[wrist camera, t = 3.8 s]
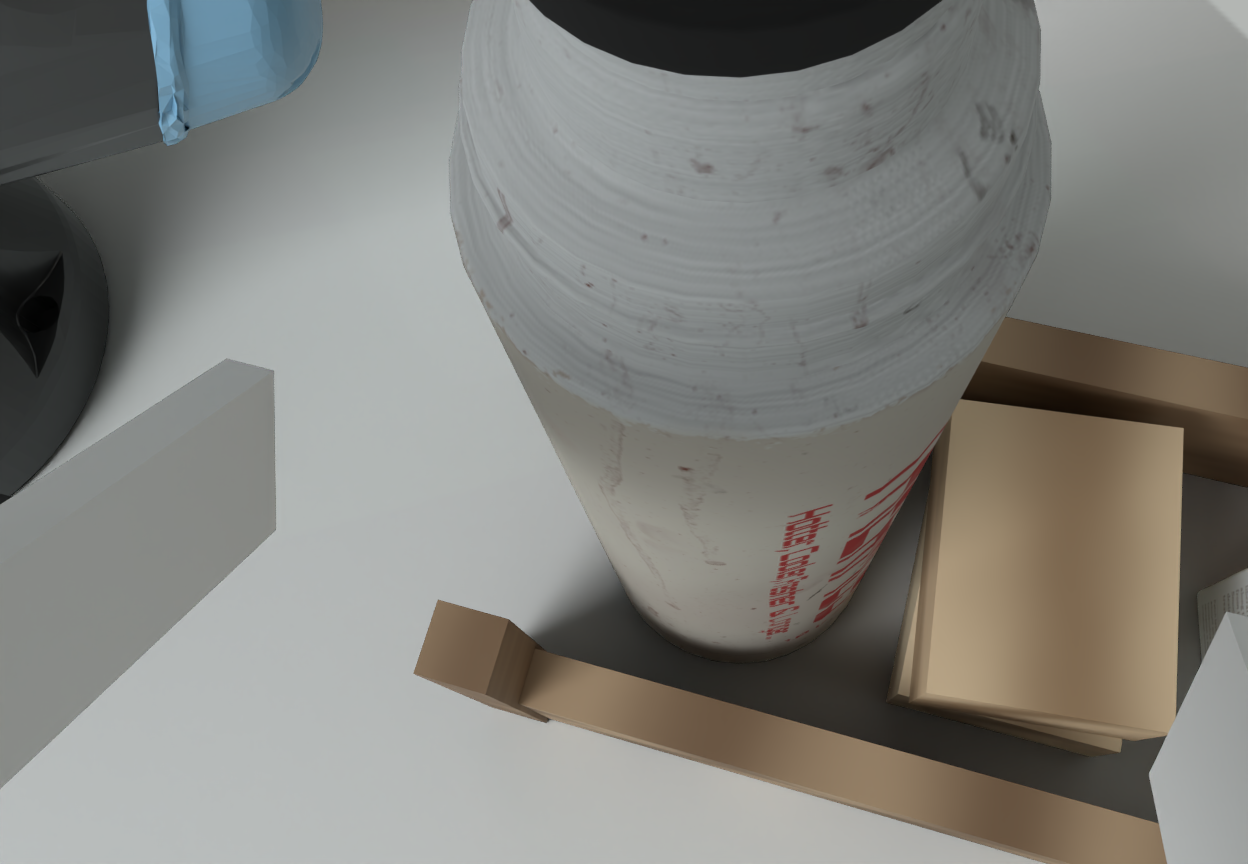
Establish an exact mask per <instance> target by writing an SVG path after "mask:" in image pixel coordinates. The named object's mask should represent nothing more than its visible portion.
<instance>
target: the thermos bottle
mask: <svg viewBox="0 0 1248 864" xmlns="http://www.w3.org/2000/svg"><path fill="white" fill-rule="evenodd" d="M1040 53H1041V29H1040V25H1039V21H1038V16H1037V12H1036V8H1035V3H1034V0H473V2H472V4H471V6H470V11H469V16H468V21H467V26H466V31H465V36H464V41H463V46H462V52H461V60H462V70H461V76H460V82H459V112H458V117H457V122H456V127H455V132H454V137H453V142H452V148H451V153H450V158H449V182H450V214H451V218H452V222H453V226H454V230H455V234H456V238H457V242H458V246H459V250H460V254H461V258H462V262H463V265H464V268H465V270H466V272H467V274H468V276H469V278H470V280H471V282H472V284H473V286H474V288H475V290H476V292H477V294H478V296H479V298H480V300H481V302H482V304H483V306H484V308H485V310H486V312H487V314H488V316H489V318H490V320H491V322H492V324H493V326H494V328H495V330H496V332H497V334H498V337H499V339H500V341H501V343H502V345H503V347H504V349H505V351H506V353H507V355H508V357H509V359H510V361H511V363H512V365H513V367H514V369H515V371H516V373H517V375H518V377H519V379H520V381H521V383H522V385H523V387H524V389H525V391H526V393H527V395H528V397H529V399H530V401H531V403H532V405H533V407H534V409H535V411H536V413H537V415H538V417H539V419H540V421H541V423H542V425H543V427H544V429H545V431H546V433H547V435H548V437H549V439H550V441H551V443H552V445H553V447H554V449H555V451H556V453H557V455H558V457H559V459H560V461H561V463H562V465H563V467H564V469H565V471H566V473H567V475H568V477H569V479H570V481H571V484H572V486H573V488H574V490H575V492H576V494H577V496H578V498H579V500H580V502H581V504H582V506H583V508H584V510H585V512H586V514H587V516H588V518H589V520H590V522H591V524H592V526H593V528H594V530H595V532H596V534H597V536H598V538H599V540H600V542H601V544H602V546H603V548H604V550H605V552H606V554H607V556H608V558H609V560H610V562H611V564H612V566H613V568H614V570H615V572H616V574H617V576H618V578H619V580H620V582H621V584H622V586H623V588H624V590H625V592H626V594H627V596H628V598H629V600H630V602H631V604H632V605H633V607H634V608H635V609H636V610H637V612H638V613H639V614H640V615H641V617H642V618H643V619H644V620H645V622H646V623H647V624H648V625H649V626H650V627H651V628H652V629H654V630H655V631H656V632H657V633H658V634H660V635H661V636H662V637H663V638H664V639H665V640H667V641H668V642H670V643H672V644H674V645H676V646H677V647H679V648H681V649H683V650H685V651H686V652H688V653H691V654H694V655H697V656H700V657H703V658H706V659H710V660H713V661H721V662H730V663H750V662H762V661H767V660H770V659H774V658H777V657H781V656H784V655H787V654H790V653H792V652H794V651H796V650H797V649H799V648H801V647H803V646H805V645H807V644H809V643H811V642H812V641H813V640H814V639H816V638H817V637H818V636H819V635H821V634H822V633H823V632H824V631H825V630H827V629H828V628H829V627H830V626H831V625H832V624H833V623H834V621H835V620H836V619H837V618H838V616H839V615H840V614H841V613H842V611H843V610H844V609H845V608H846V606H847V605H848V603H849V601H850V599H851V597H852V596H853V594H854V592H855V590H856V588H857V586H858V585H859V583H860V581H861V579H862V577H863V575H864V574H865V572H866V570H867V568H868V566H869V565H870V563H871V561H872V559H873V557H874V555H875V554H876V552H877V550H878V548H879V546H880V544H881V543H882V541H883V539H884V537H885V535H886V534H887V532H888V530H889V528H890V526H891V524H892V523H893V521H894V519H895V517H896V515H897V513H898V512H899V510H900V508H901V506H902V504H903V503H904V501H905V499H906V497H907V495H908V493H909V492H910V490H911V488H912V486H913V484H914V482H915V481H916V479H917V477H918V475H919V473H920V472H921V470H922V468H923V466H924V464H925V462H926V461H927V459H928V457H929V455H930V453H931V451H932V450H933V448H934V446H935V444H936V442H937V441H938V439H939V437H940V435H941V433H942V431H943V430H944V428H945V426H946V424H947V422H948V420H949V419H950V417H951V415H952V413H953V411H954V410H955V408H956V406H957V404H958V402H959V400H960V399H961V397H962V395H963V393H964V391H965V389H966V388H967V386H968V384H969V382H970V380H971V379H972V377H973V375H974V373H975V371H976V369H977V368H978V366H979V364H980V362H981V360H982V358H983V357H984V355H985V353H986V351H987V349H988V348H989V346H990V344H991V342H992V340H993V338H994V337H995V335H996V333H997V331H998V329H999V327H1000V326H1001V324H1002V322H1003V320H1004V318H1005V317H1006V315H1007V313H1008V311H1009V309H1010V307H1011V305H1012V303H1013V301H1014V299H1015V297H1016V295H1017V293H1018V291H1019V289H1020V287H1021V285H1022V284H1023V282H1024V280H1025V278H1026V276H1027V274H1028V272H1029V270H1030V268H1031V266H1032V264H1033V262H1034V260H1035V258H1036V256H1037V253H1038V250H1039V246H1040V241H1041V237H1042V233H1043V229H1044V225H1045V221H1046V217H1047V213H1048V209H1049V205H1050V201H1051V139H1050V134H1049V130H1048V126H1047V121H1046V117H1045V112H1044V108H1043V104H1042V99H1041V95H1040V91H1039V85H1040Z"/></svg>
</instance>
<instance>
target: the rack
mask: <svg viewBox="0 0 1248 864" xmlns="http://www.w3.org/2000/svg"><path fill="white" fill-rule="evenodd" d="M961 399H963V400H971V401H978V402H986V403H994V404H1001V405H1009V406H1017V407H1024V408H1032V409H1040V410H1048V411H1055V412H1063V413H1071V414H1078V415H1086V416H1094V417H1101V418H1109V419H1117V420H1124V421H1132V422H1140V423H1148V424H1155V425H1163V426H1171V427H1178V428H1184V433H1183V470H1182V472H1183V473H1187V474H1191V475H1196V476H1200V477H1205V478H1209V479H1213V480H1218V481H1222V482H1227V483H1231V484H1235V485H1240V486H1244V487H1248V368H1246V367H1241V366H1237V365H1232V364H1227V363H1222V362H1218V361H1213V360H1208V359H1203V358H1199V357H1194V356H1189V355H1184V354H1180V353H1175V352H1170V351H1165V350H1161V349H1156V348H1151V347H1147V346H1142V345H1137V344H1132V343H1128V342H1123V341H1118V340H1113V339H1109V338H1104V337H1099V336H1094V335H1090V334H1085V333H1080V332H1075V331H1071V330H1066V329H1061V328H1056V327H1052V326H1047V325H1042V324H1037V323H1033V322H1028V321H1023V320H1018V319H1014V318H1009V317H1005V318H1004V320H1003V322H1002V324H1001V326H1000V327H999V329H998V331H997V333H996V335H995V337H994V338H993V340H992V342H991V344H990V346H989V348H988V349H987V351H986V353H985V355H984V357H983V358H982V360H981V362H980V364H979V366H978V368H977V369H976V371H975V373H974V375H973V377H972V379H971V380H970V382H969V384H968V386H967V388H966V389H965V391H964V393H963V395H962V397H961ZM413 674H415V675H418V676H420V677H422V678H425V679H427V680H430V681H432V682H434V683H437V684H439V685H441V686H444V687H446V688H448V689H451V690H453V691H455V692H458V693H460V694H462V695H465V696H467V697H469V698H472V699H474V700H476V701H479V702H481V703H483V704H486V705H488V706H490V707H493V708H497V709H500V710H504V711H507V712H510V713H514V714H517V715H521V716H524V717H527V718H531V719H534V720H538V721H541V722H545V723H547V720H548V718H549V719H552V720H556V721H559V722H563V723H566V724H570V725H573V726H576V727H580V728H583V729H587V730H590V731H594V732H597V733H600V734H604V735H607V736H611V737H614V738H618V739H621V740H624V741H628V742H631V743H635V744H638V745H642V746H645V747H649V748H652V749H655V750H659V751H662V752H666V753H669V754H673V755H676V756H679V757H683V758H686V759H690V760H693V761H697V762H700V763H703V764H707V765H710V766H714V767H717V768H721V769H724V770H728V771H731V772H734V773H738V774H741V775H745V776H748V777H752V778H755V779H758V780H762V781H765V782H769V783H772V784H776V785H779V786H782V787H786V788H789V789H793V790H796V791H800V792H803V793H807V794H810V795H813V796H817V797H820V798H824V799H827V800H831V801H834V802H837V803H841V804H844V805H848V806H851V807H855V808H858V809H861V810H865V811H868V812H872V813H875V814H879V815H882V816H886V817H889V818H892V819H896V820H899V821H903V822H906V823H910V824H913V825H916V826H920V827H923V828H927V829H930V830H934V831H937V832H940V833H944V834H947V835H951V836H954V837H958V838H961V839H965V840H968V841H971V842H975V843H978V844H982V845H985V846H989V847H992V848H995V849H999V850H1002V851H1006V852H1009V853H1013V854H1016V855H1019V856H1023V857H1026V858H1030V859H1033V860H1037V861H1040V862H1044V863H1047V864H1167V861H1166V856H1165V851H1164V846H1163V841H1162V836H1161V831H1160V827H1159V823H1155V822H1152V821H1148V820H1145V819H1141V818H1137V817H1134V816H1130V815H1127V814H1123V813H1120V812H1116V811H1112V810H1109V809H1105V808H1102V807H1098V806H1095V805H1091V804H1087V803H1084V802H1080V801H1077V800H1073V799H1070V798H1066V797H1063V796H1059V795H1055V794H1052V793H1048V792H1045V791H1041V790H1038V789H1034V788H1030V787H1027V786H1023V785H1020V784H1016V783H1013V782H1009V781H1005V780H1002V779H998V778H995V777H991V776H988V775H984V774H981V773H977V772H973V771H970V770H966V769H963V768H959V767H956V766H952V765H948V764H945V763H941V762H938V761H934V760H931V759H927V758H923V757H920V756H916V755H913V754H909V753H906V752H902V751H899V750H895V749H891V748H888V747H884V746H881V745H877V744H874V743H870V742H866V741H863V740H859V739H856V738H852V737H849V736H845V735H841V734H838V733H834V732H831V731H827V730H824V729H820V728H817V727H813V726H809V725H806V724H802V723H799V722H795V721H792V720H788V719H784V718H781V717H777V716H774V715H770V714H767V713H763V712H759V711H756V710H752V709H749V708H745V707H742V706H738V705H735V704H731V703H727V702H724V701H720V700H717V699H713V698H710V697H706V696H702V695H699V694H695V693H692V692H688V691H685V690H681V689H677V688H674V687H670V686H667V685H663V684H660V683H656V682H653V681H649V680H645V679H642V678H638V677H635V676H631V675H628V674H624V673H620V672H617V671H613V670H610V669H606V668H603V667H599V666H595V665H592V664H588V663H585V662H581V661H578V660H574V659H571V658H567V657H563V656H560V655H556V654H553V653H549V652H547V651H546V650H544V649H543V648H542V647H541V646H540V645H538V644H537V643H536V642H535V641H534V640H533V639H531V638H530V637H529V636H528V635H527V634H525V633H524V632H523V631H522V630H521V629H520V628H518V627H517V626H516V625H515V624H514V623H512V622H511V621H510V620H509V619H506V618H502V617H498V616H495V615H491V614H487V613H484V612H480V611H477V610H473V609H469V608H466V607H462V606H459V605H455V604H451V603H448V602H444V601H441V600H438V601H437V604H436V607H435V610H434V613H433V616H432V619H431V622H430V625H429V628H428V631H427V634H426V637H425V640H424V643H423V646H422V649H421V652H420V655H419V658H418V661H417V664H416V667H415V670H414V673H413Z"/></svg>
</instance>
